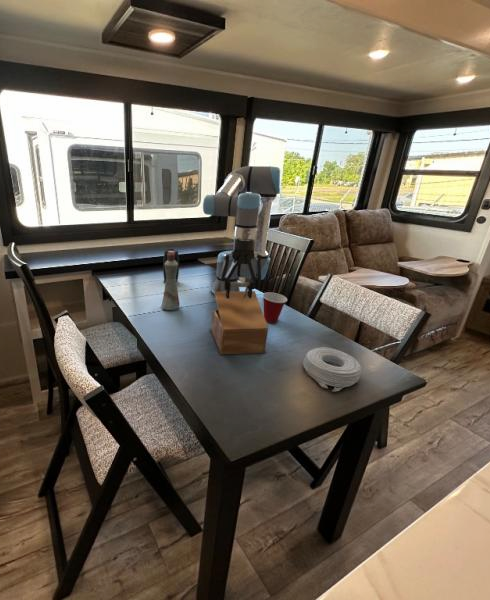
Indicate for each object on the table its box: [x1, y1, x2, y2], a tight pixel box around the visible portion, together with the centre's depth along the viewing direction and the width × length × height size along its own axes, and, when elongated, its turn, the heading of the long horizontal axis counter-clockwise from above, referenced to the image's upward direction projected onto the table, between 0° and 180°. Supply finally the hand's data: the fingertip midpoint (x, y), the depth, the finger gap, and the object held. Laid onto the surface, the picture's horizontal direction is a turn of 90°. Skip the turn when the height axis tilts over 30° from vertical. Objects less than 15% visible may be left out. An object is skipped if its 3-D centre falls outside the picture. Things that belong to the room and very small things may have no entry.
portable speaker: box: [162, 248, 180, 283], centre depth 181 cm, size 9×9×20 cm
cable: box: [302, 346, 362, 393], centre depth 104 cm, size 18×18×6 cm
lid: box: [214, 281, 269, 331], centre depth 116 cm, size 19×17×8 cm
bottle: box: [161, 252, 180, 312], centre depth 147 cm, size 9×9×28 cm
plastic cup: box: [261, 291, 288, 324], centre depth 139 cm, size 11×11×12 cm
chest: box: [210, 308, 269, 355], centre depth 122 cm, size 19×17×10 cm
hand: (238, 296), depth 120 cm, fingers closed on lid, 8 cm apart
